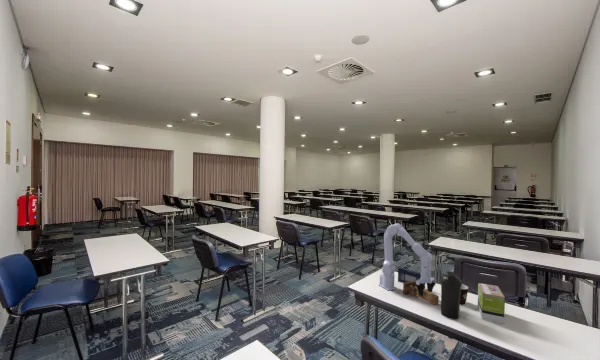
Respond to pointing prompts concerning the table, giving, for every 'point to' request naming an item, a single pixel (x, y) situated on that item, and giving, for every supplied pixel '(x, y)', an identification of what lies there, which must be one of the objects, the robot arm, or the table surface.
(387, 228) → the robot arm
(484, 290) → the tea box
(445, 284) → the water bottle
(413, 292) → the headboard
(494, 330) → the table surface
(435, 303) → the rail
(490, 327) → the table surface
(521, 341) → the table surface
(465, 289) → the coffee mug
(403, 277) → the vhs cassette tape
